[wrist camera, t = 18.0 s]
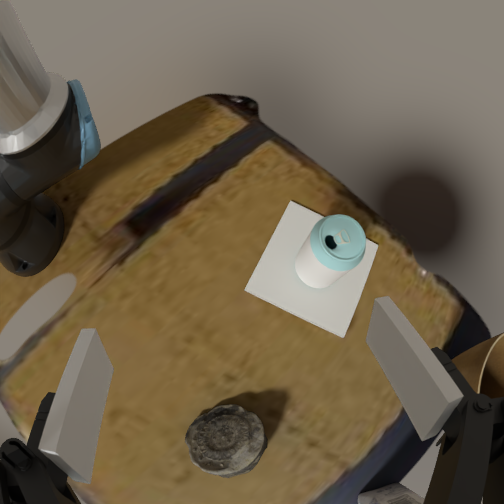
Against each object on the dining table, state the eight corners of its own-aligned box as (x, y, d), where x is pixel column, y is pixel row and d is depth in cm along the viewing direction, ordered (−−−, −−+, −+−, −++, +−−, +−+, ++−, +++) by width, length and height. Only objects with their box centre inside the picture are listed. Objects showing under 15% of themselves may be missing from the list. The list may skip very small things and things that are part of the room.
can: (325, 298, 44) (356, 278, 33) (285, 273, 45) (302, 244, 34) (346, 259, 46) (379, 229, 35) (308, 235, 47) (330, 198, 36)
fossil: (223, 385, 39) (254, 418, 30) (264, 416, 42) (300, 447, 33) (172, 437, 36) (191, 480, 27) (217, 463, 39) (244, 503, 30)
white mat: (244, 290, 44) (244, 289, 44) (289, 202, 49) (290, 200, 49) (342, 337, 43) (343, 337, 42) (376, 246, 48) (378, 245, 47)
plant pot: (483, 390, 40) (545, 389, 25) (429, 441, 37) (491, 460, 22) (458, 325, 44) (522, 308, 29) (399, 373, 41) (464, 375, 26)
